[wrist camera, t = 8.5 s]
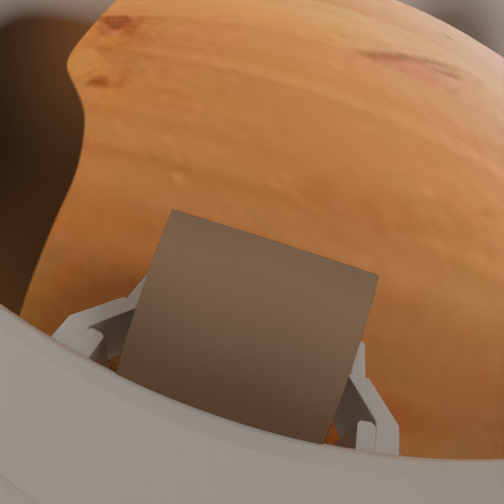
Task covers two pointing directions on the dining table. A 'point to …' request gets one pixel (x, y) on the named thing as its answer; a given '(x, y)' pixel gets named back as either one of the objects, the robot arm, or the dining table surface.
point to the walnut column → (247, 328)
